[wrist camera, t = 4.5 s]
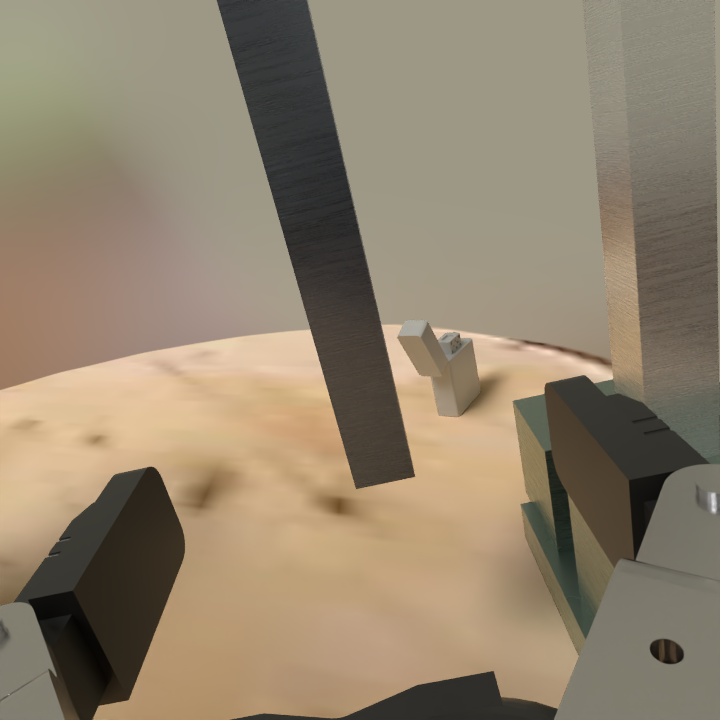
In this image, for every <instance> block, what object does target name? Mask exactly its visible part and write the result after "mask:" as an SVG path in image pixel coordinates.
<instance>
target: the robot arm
mask: <svg viewBox="0 0 720 720" xmlns="http://www.w3.org/2000/svg"><path fill="white" fill-rule="evenodd" d="M545 401H546V409H547V417H548V425H549V433H550V441H551V449H552V456H553V461H554V464H555V468H556V471H557V474H558V476H559V479H560V481H561V483H562V485H563V486H564V488H565V490H566V491H567V493H568V494H569V496H570V498H571V499H572V501H573V503H574V504H575V506H576V507H577V509H578V511H579V512H580V514H581V515H582V517H583V519H584V520H585V522H586V523H587V525H588V527H589V528H590V530H591V532H592V533H593V535H594V536H595V538H596V540H597V541H598V543H599V544H600V546H601V548H602V549H603V551H604V553H605V554H606V556H607V557H608V559H609V561H610V562H611V564H612V565H613V567H614V571H613V574H612V576H611V579H610V581H609V584H608V586H607V588H606V591H605V593H604V596H603V598H602V601H601V603H600V606H599V608H598V611H597V613H596V616H595V618H594V621H593V623H592V626H591V628H590V631H589V633H588V636H587V638H586V641H585V643H584V646H583V648H582V651H581V653H580V656H579V658H578V661H577V663H576V666H575V668H574V671H573V673H572V676H571V678H570V681H569V683H568V686H567V688H566V691H565V693H564V696H563V698H562V701H561V703H560V706H559V708H558V709H556V708H553V707H550V706H547V705H543V704H540V703H537V702H532V701H527V700H522V699H516V698H504V697H501V696H500V693H499V689H498V685H497V682H496V678H495V674H494V671H492V672H486V673H481V674H475V675H470V676H465V677H459V678H454V679H448V680H443V681H438V682H432V683H427V684H421V685H417V686H415V687H412V688H410V689H408V690H405V691H403V692H401V693H399V694H396V695H394V696H392V697H389V698H387V699H385V700H382V701H380V702H378V703H376V704H373V705H371V706H369V707H366V708H364V709H362V710H360V711H357V712H355V713H353V714H350V715H348V716H345V717H342V718H333V719H331V718H318V717H304V716H290V715H277V714H259V715H253V716H248V717H242V718H237V719H232V720H720V465H719V464H710V463H709V462H708V461H707V460H706V459H705V458H704V457H702V456H701V455H700V454H699V453H698V452H697V451H696V450H695V449H693V448H692V447H691V446H690V445H689V444H688V443H687V442H686V441H685V440H683V439H682V438H681V437H680V436H679V435H678V434H677V433H676V432H675V431H673V430H670V427H669V426H668V425H667V424H666V423H665V422H663V421H662V420H661V419H658V417H657V415H656V414H655V413H653V412H652V411H651V410H650V409H649V408H648V407H647V406H646V405H645V404H643V403H642V402H640V401H637V400H635V399H632V398H629V397H627V396H624V395H622V394H619V393H617V394H613V395H608V396H606V395H605V394H604V393H603V392H602V391H601V390H600V389H599V388H598V387H597V386H596V385H595V384H594V383H593V382H592V381H591V380H590V379H589V378H588V377H586V376H585V375H583V376H578V377H573V378H569V379H564V380H559V381H554V382H550V383H546V385H545ZM59 540H60V542H57V543H56V544H55V545H54V547H53V548H52V550H51V551H50V552H49V557H47V558H45V559H44V561H43V562H42V564H41V565H40V566H39V568H38V569H37V571H36V572H35V573H34V575H33V576H32V577H31V579H30V580H29V582H28V583H27V584H26V586H25V587H24V589H23V590H22V591H21V593H20V594H19V596H18V597H17V598H16V600H15V601H14V603H9V604H5V605H2V606H0V720H94V719H93V717H94V715H95V712H96V710H97V708H98V706H100V705H105V704H110V703H116V702H121V701H126V700H129V698H130V695H131V693H132V690H133V688H134V685H135V682H136V680H137V677H138V675H139V672H140V669H141V667H142V664H143V662H144V659H145V657H146V654H147V651H148V649H149V646H150V644H151V641H152V639H153V636H154V633H155V631H156V628H157V626H158V623H159V621H160V618H161V615H162V613H163V610H164V608H165V605H166V602H167V600H168V597H169V595H170V592H171V590H172V587H173V584H174V582H175V579H176V577H177V574H178V572H179V569H180V566H181V564H182V561H183V558H184V553H185V540H184V534H183V530H182V527H181V524H180V522H179V519H178V517H177V514H176V512H175V510H174V507H173V505H172V502H171V500H170V497H169V495H168V492H167V490H166V487H165V485H164V482H163V480H162V478H161V475H160V474H159V472H158V471H157V470H156V469H155V468H154V467H147V468H142V469H138V470H133V471H128V472H124V473H119V474H115V475H114V476H113V477H112V478H111V480H110V481H109V483H108V484H107V486H106V487H105V488H104V490H103V491H102V493H101V494H100V496H99V497H98V499H97V500H96V501H95V503H93V504H91V505H90V506H89V507H88V508H87V509H85V510H84V511H83V512H82V513H81V514H80V515H78V516H77V517H76V518H75V519H74V520H72V522H71V523H70V524H69V526H68V527H67V529H66V530H65V531H64V533H63V534H62V536H61V537H60V538H59Z"/></svg>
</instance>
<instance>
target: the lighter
mask: <svg viewBox="0 0 720 720" xmlns="http://www.w3.org/2000/svg"><path fill="white" fill-rule="evenodd" d="M397 338H398V340H399V341H400V343H401V345H402V346H403V348H404V350H405V351H406V353H407V355H408V356H409V358H410V360H411V361H412V363H413V365H414V366H415V368H416V370H417V372H418V373H419V375H421V376H431V380H432V385H433V390H434V395H435V400H436V405H437V410H438V414H439V415H440V416H451V417H459V416H461V414H462V413H463V412H464V411H465V410H466V409H467V407H468V406H469V405H470V404H471V403H472V402H473V400H474V399H475V398H476V397H477V396H478V395H479V393H480V392H481V389H480V383H479V377H478V372H477V366H476V360H475V354H474V348H473V342H472V339H471V338H460V334H459V333H456V332H453V333H445V334H444V335H443V336H442V337H441V338H440V339H438V340H437V338H436V337H435V335H434V333H433V331H432V329H431V327H430V325H429V323H428V322H427V321H425V320H414V321H413V320H411V321H405V322H404V324H403V326H402V329H401V331H400V333H399V335H398V337H397Z"/></svg>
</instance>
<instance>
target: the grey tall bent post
mask: <svg viewBox="0 0 720 720" xmlns="http://www.w3.org/2000/svg"><path fill="white" fill-rule="evenodd" d="M583 9H584V21H585V33H586V46H587V57H588V71H589V82H590V95H591V106H592V120H593V132H594V145H595V157H596V169H597V182H598V194H599V206H600V219H601V231H602V243H603V256H604V268H605V280H606V293H607V305H608V317H609V330H610V341H611V355H612V367H613V380H608V381H604V382H599V383H594V384H595V385H596V386H597V387H598V388H599V389H600V390H601V391H602V392H603V393H604V394H605V395H606V396H608V395H613V394H617V393H619V394H622V395H624V396H627V397H629V398H632V399H635V400H637V401H640V402H642V403H643V404H645V405H646V406H647V407H648V408H649V409H650V410H651V411H652V412H653V413H655V414H656V415H657V417H658V419H661V420H662V421H663V422H665V423H666V424H667V425H668V426H669V427H670V430H673V431H675V432H676V433H677V434H678V435H679V436H680V437H681V438H682V439H683V440H685V441H686V442H687V443H688V444H689V445H690V446H691V447H692V448H693V449H695V450H696V451H697V452H698V453H699V454H700V455H701V456H702V457H704V458H705V459H706V460H707V461H708V462H709V463H710V464H719V465H720V382H719V346H718V345H719V342H718V340H719V338H718V256H717V255H718V253H717V252H718V251H717V164H716V163H717V162H716V76H715V75H716V74H715V0H583ZM513 407H514V413H515V420H516V427H517V433H518V440H519V447H520V453H521V460H522V467H523V474H524V480H525V487H526V493H527V495H528V497H529V499H530V501H531V502H529V503H524V504H521V509H522V516H523V522H524V529H525V535H526V539H527V542H528V544H529V546H530V548H531V550H532V553H533V555H534V557H535V559H536V562H537V564H538V566H539V568H540V570H541V573H542V575H543V577H544V579H545V582H546V584H547V586H548V588H549V590H550V593H551V595H552V597H553V599H554V601H555V604H556V606H557V608H558V610H559V613H560V615H561V617H562V619H563V621H564V624H565V626H566V628H567V630H568V633H569V635H570V637H571V639H572V641H573V644H574V646H575V648H576V650H577V652H578V655H579V656H580V653H581V651H582V648H583V646H584V643H585V641H586V638H587V636H588V633H589V631H590V628H591V626H592V623H593V621H594V618H595V616H596V613H597V611H598V608H599V606H600V603H601V601H602V598H603V596H604V593H605V591H606V588H607V586H608V584H609V581H610V579H611V576H612V574H613V571H614V567H613V565H612V564H611V562H610V561H609V559H608V557H607V556H606V554H605V553H604V551H603V549H602V548H601V546H600V544H599V543H598V541H597V540H596V538H595V536H594V535H593V533H592V532H591V530H590V528H589V527H588V525H587V523H586V522H585V520H584V519H583V517H582V515H581V514H580V512H579V511H578V509H577V507H576V506H575V504H574V503H573V501H572V499H571V498H570V496H569V494H568V493H567V491H566V490H565V488H564V486H563V485H562V483H561V481H560V479H559V476H558V474H557V471H556V468H555V464H554V461H553V456H552V449H551V441H550V433H549V425H548V417H547V409H546V401H545V394H543V395H538V396H534V397H529V398H524V399H520V400H515V401H513Z"/></svg>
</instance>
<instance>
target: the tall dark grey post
mask: <svg viewBox="0 0 720 720" xmlns="http://www.w3.org/2000/svg"><path fill="white" fill-rule="evenodd" d="M217 2H218V6H219V10H220V13H221V16H222V20H223V24H224V27H225V31H226V34H227V38H228V41H229V44H230V48H231V51H232V55H233V59H234V62H235V66H236V69H237V73H238V76H239V79H240V83H241V86H242V90H243V94H244V97H245V101H246V104H247V107H248V111H249V115H250V118H251V122H252V125H253V129H254V132H255V136H256V139H257V143H258V146H259V150H260V153H261V157H262V160H263V164H264V167H265V171H266V174H267V178H268V182H269V185H270V188H271V192H272V195H273V199H274V203H275V206H276V209H277V213H278V217H279V220H280V224H281V227H282V230H283V234H284V238H285V241H286V245H287V248H288V252H289V255H290V259H291V262H292V266H293V269H294V273H295V276H296V280H297V283H298V287H299V290H300V293H301V297H302V301H303V304H304V308H305V311H306V315H307V318H308V322H309V325H310V329H311V332H312V336H313V339H314V343H315V346H316V350H317V353H318V357H319V361H320V364H321V368H322V371H323V375H324V378H325V382H326V385H327V389H328V392H329V396H330V399H331V403H332V406H333V410H334V413H335V417H336V420H337V424H338V427H339V431H340V434H341V438H342V441H343V445H344V448H345V452H346V455H347V459H348V462H349V466H350V469H351V473H352V476H353V480H354V483H355V487H356V489H359V488H364V487H368V486H373V485H378V484H383V483H388V482H392V481H397V480H402V479H407V478H411V477H415V474H414V469H413V464H412V459H411V454H410V450H409V445H408V440H407V436H406V431H405V427H404V423H403V418H402V414H401V409H400V405H399V401H398V396H397V392H396V387H395V383H394V379H393V374H392V370H391V365H390V361H389V356H388V352H387V348H386V343H385V339H384V334H383V330H382V326H381V321H380V317H379V312H378V308H377V304H376V299H375V295H374V290H373V286H372V282H371V277H370V273H369V268H368V264H367V259H366V255H365V251H364V246H363V242H362V237H361V234H360V229H359V224H358V220H357V215H356V211H355V207H354V202H353V198H352V193H351V189H350V184H349V180H348V176H347V171H346V167H345V162H344V158H343V154H342V149H341V145H340V140H339V136H338V132H337V127H336V123H335V119H334V114H333V110H332V105H331V101H330V96H329V92H328V88H327V83H326V79H325V75H324V70H323V65H322V61H321V57H320V52H319V48H318V43H317V39H316V35H315V30H314V26H313V21H312V17H311V13H310V8H309V4H308V0H217Z"/></svg>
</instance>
